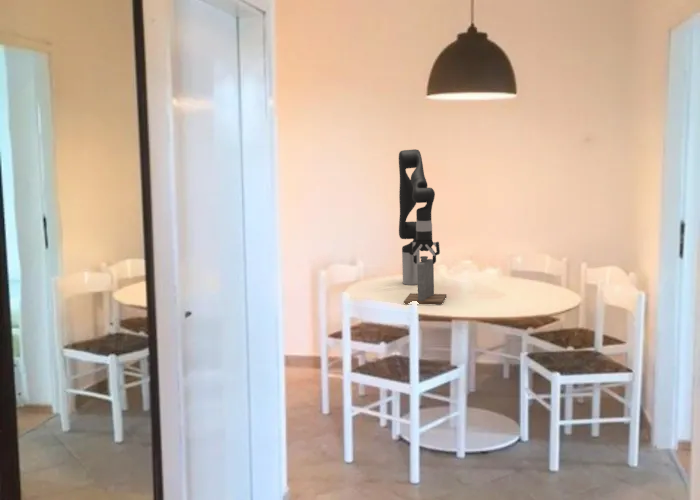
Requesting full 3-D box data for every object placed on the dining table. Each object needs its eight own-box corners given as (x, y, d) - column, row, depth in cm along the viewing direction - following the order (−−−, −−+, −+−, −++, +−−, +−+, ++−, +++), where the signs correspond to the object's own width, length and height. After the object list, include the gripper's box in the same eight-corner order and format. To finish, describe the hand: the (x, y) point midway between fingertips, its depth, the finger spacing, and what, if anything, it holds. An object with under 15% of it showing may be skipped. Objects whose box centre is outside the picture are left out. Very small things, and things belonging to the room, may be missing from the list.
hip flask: (423, 301, 376) (422, 259, 373) (415, 300, 377) (414, 258, 374) (434, 294, 390) (434, 254, 387) (427, 293, 392) (426, 253, 389)
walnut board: (410, 296, 395) (410, 293, 394) (446, 297, 390) (446, 294, 390) (403, 304, 377) (403, 301, 377) (441, 305, 373) (441, 301, 373)
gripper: (440, 228, 380) (440, 262, 383) (410, 228, 384) (411, 262, 386) (438, 230, 373) (438, 265, 376) (408, 230, 377) (408, 264, 379)
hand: (424, 263), depth 381 cm, fingers open, 8 cm apart
